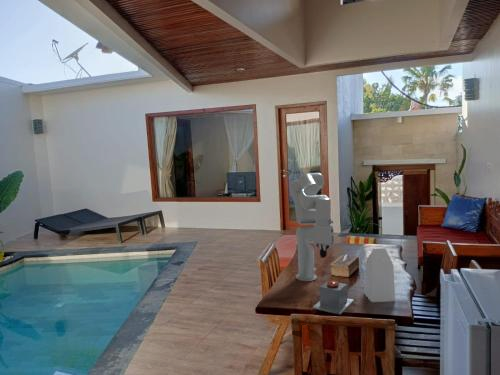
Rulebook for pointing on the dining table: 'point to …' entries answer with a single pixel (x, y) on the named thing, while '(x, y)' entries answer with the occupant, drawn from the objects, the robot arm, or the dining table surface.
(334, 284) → the pin
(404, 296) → the dining table surface
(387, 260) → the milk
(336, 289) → the receiver
